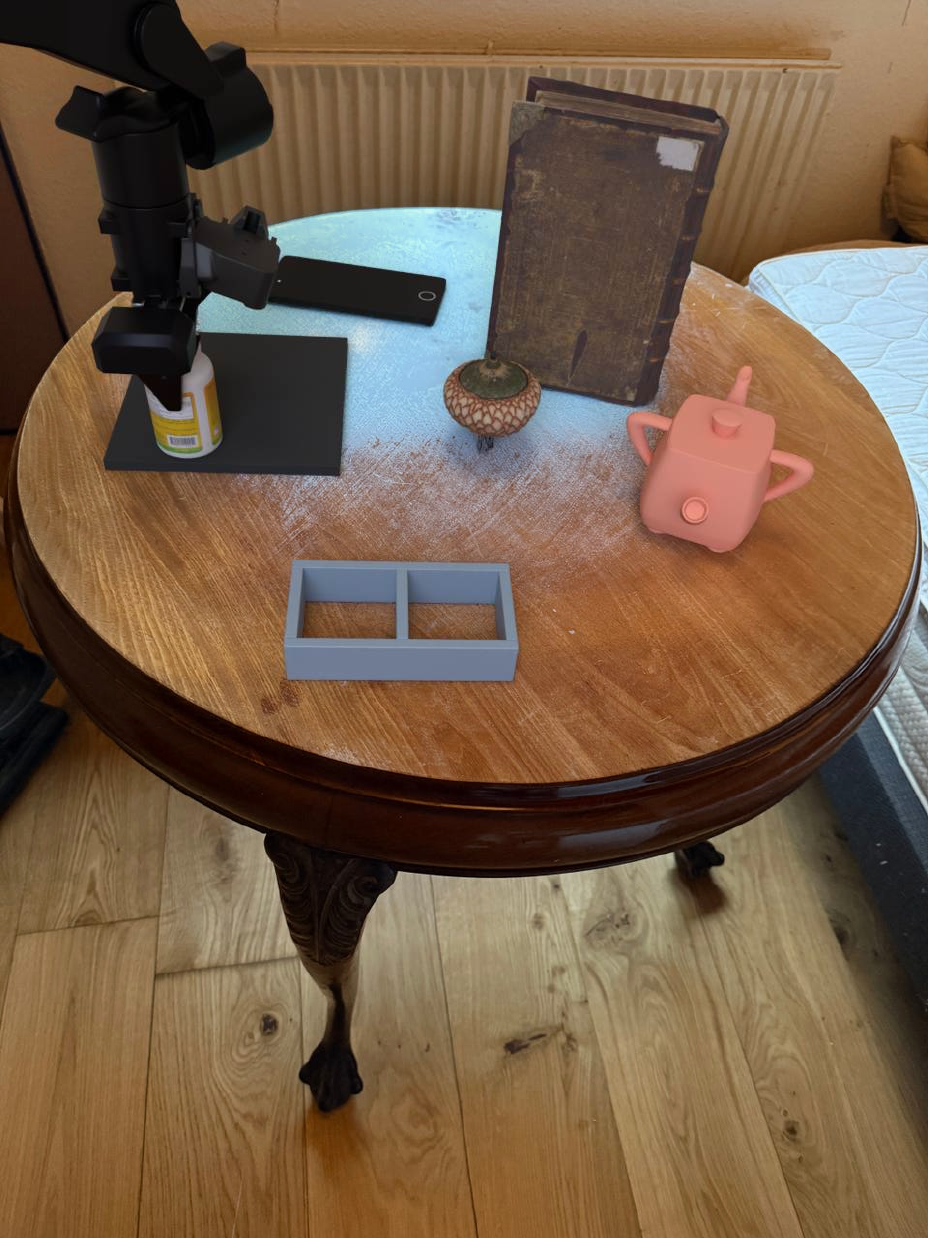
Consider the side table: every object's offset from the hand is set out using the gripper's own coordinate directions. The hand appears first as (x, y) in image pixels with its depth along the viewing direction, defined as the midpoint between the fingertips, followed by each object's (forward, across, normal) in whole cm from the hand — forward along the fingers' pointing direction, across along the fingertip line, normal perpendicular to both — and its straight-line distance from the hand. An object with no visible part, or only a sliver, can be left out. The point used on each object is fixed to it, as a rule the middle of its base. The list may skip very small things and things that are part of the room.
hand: (180, 389), depth 74 cm
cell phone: (+6, +27, -13) cm, 31 cm away
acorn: (+6, +1, -25) cm, 26 cm away
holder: (+6, -21, -18) cm, 28 cm away
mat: (+6, +7, -3) cm, 10 cm away
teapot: (+6, -7, -42) cm, 43 cm away
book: (+6, +12, -34) cm, 37 cm away
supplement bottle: (+5, 0, 0) cm, 5 cm away
